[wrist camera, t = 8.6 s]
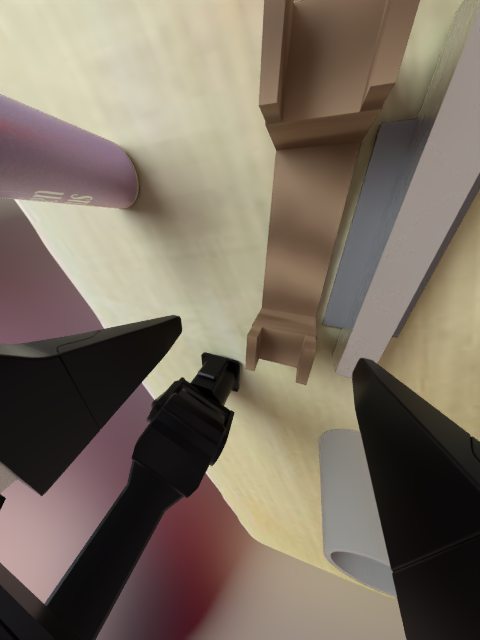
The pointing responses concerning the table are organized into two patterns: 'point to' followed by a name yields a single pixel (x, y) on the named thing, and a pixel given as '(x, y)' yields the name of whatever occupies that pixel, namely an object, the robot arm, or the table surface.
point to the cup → (352, 512)
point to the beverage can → (60, 161)
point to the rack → (316, 149)
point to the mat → (369, 216)
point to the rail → (420, 196)
